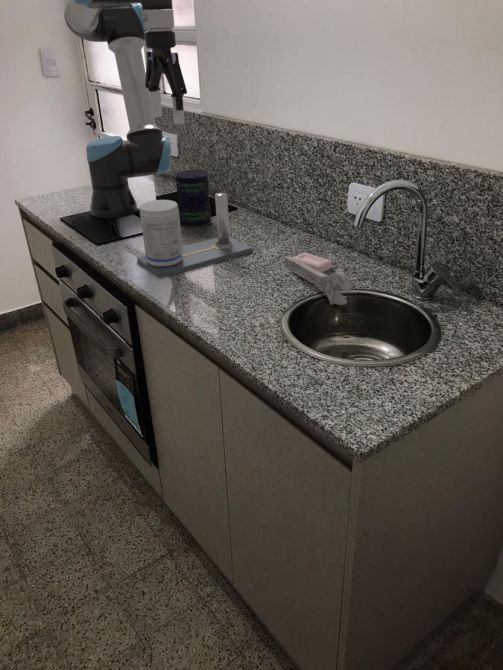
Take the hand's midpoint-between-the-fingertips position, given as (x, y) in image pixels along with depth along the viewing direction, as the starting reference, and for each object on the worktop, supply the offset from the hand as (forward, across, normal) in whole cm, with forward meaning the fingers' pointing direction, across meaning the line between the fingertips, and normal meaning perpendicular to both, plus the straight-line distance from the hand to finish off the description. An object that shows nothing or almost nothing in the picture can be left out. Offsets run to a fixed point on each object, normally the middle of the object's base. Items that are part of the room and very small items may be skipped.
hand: (168, 120), depth 149 cm
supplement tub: (+30, +20, -14) cm, 39 cm away
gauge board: (+32, +20, -5) cm, 38 cm away
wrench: (+32, +53, +9) cm, 63 cm away
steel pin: (+30, +19, +4) cm, 36 cm away
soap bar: (+32, +43, +16) cm, 56 cm away
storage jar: (+32, -6, +9) cm, 34 cm away
